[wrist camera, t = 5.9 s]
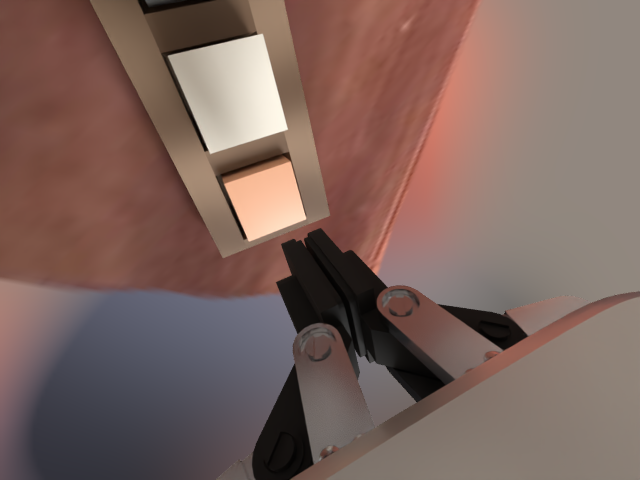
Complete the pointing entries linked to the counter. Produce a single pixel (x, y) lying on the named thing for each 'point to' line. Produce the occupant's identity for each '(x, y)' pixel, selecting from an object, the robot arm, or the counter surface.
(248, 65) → the cream button
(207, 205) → the button board
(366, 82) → the counter surface
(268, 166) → the peach square block
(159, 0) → the grey button
